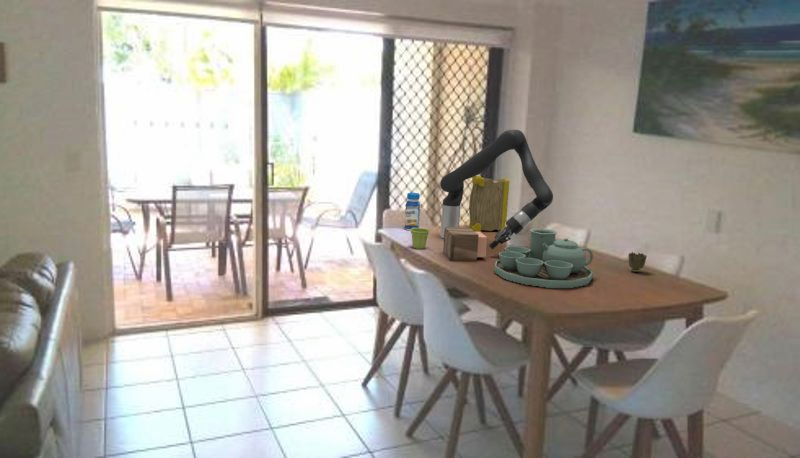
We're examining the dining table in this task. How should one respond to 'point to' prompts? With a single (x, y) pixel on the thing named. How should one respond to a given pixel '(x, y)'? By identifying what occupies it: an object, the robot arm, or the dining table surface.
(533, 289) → the dining table surface
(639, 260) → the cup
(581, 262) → the tea set
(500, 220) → the decorative book
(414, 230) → the plant pot
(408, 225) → the beverage bottle
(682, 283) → the dining table surface
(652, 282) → the dining table surface
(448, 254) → the brown box with drawer
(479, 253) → the salmon pink block
